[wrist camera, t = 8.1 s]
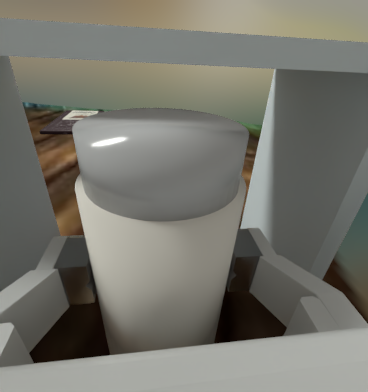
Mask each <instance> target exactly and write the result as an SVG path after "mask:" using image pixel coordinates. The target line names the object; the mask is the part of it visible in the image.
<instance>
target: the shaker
mask: <svg viewBox="0 0 368 392" xmlns="http://www.w3.org/2000/svg"><path fill="white" fill-rule="evenodd" d="M72 132H73V137H74V142H75V147H76V153H77V158H78V163H79V168H80V174H79V176H78V178H77V180H76V183H75V192H76V197H77V202H78V206H79V211H80V216H81V220H82V225H83V230H84V234H85V239H86V244H87V248H88V253H89V258H90V263H91V267H92V272H93V277H94V281H95V286H96V291H97V295H98V300H99V305H100V310H101V314H102V319H103V324H104V328H105V333H106V338H107V342H108V347H109V352H110V355H117V354H126V353H135V352H144V351H153V350H162V349H171V348H181V347H190V346H199V345H208V344H214V341H215V336H216V331H217V326H218V322H219V317H220V312H221V307H222V303H223V298H224V293H225V288H226V283H227V279H228V274H229V269H230V264H231V260H232V255H233V250H234V245H235V241H236V236H237V231H238V226H239V222H240V217H241V212H242V207H243V203H244V198H245V193H246V184H245V181H244V179H243V177H242V176H241V174H242V168H243V163H244V158H245V153H246V147H247V142H248V137H249V132H248V130H247V129H246V128H245V127H244V126H243V125H241V124H240V123H238V122H236V121H234V120H231V119H228V118H225V117H222V116H218V115H214V114H210V113H204V112H198V111H192V110H183V109H169V108H133V109H121V110H113V111H107V112H102V113H97V114H93V115H90V116H87V117H85V118H83V119H81V120H79V121H77V122H76V123H75V124H74V126H73V127H72Z"/></svg>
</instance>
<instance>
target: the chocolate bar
mask: <svg viewBox="0 0 368 392" xmlns="http://www.w3.org/2000/svg"><path fill="white" fill-rule="evenodd" d="M102 112H104V111H66V112H64V113H63V114H62V115H60V116H59V117H58V118H56V119H55V120H54V121H52V122H51V123H50V124H48V125H47V126H46V127H44V128H43V129H42V130H40V134H73V132H72V127H73V126H74V124H75V123H76V122H77V121H79V120H81V119H83V118H85V117H87V116H90V115H93V114H97V113H102Z"/></svg>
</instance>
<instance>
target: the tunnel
mask: <svg viewBox="0 0 368 392" xmlns="http://www.w3.org/2000/svg"><path fill="white" fill-rule="evenodd" d="M9 56H20V57H41V58H63V59H83V60H104V61H125V62H146V63H167V64H187V65H209V66H230V67H250V68H271V69H275V70H274V75H273V80H272V84H271V89H270V93H269V98H268V103H267V107H266V112H265V117H264V121H263V126H262V130H261V135H260V140H259V144H258V149H257V153H256V158H255V163H254V167H253V172H252V177H251V181H250V186H249V191H248V195H247V200H246V204H245V209H244V214H243V218H242V223H241V228H240V229H246V228H257V227H258V228H259V229H260V230H261V231H262V233H263V234H264V236H265V237H266V239H267V240H268V242H269V244H270V245H271V247H272V248H273V250H274V251H275V253H276V254H277V255H281V256H283V257H285V258H286V259H288V260H289V261H291V262H293V263H294V264H296V265H298V266H299V267H301V268H303V269H304V270H306V271H308V272H309V273H311V274H313V275H314V276H316V277H317V278H319V279H321V280H322V279H323V277H324V276H325V274H326V272H327V270H328V268H329V266H330V264H331V262H332V260H333V258H334V256H335V254H336V252H337V250H338V249H339V247H340V245H341V243H342V241H343V239H344V237H345V235H346V233H347V231H348V229H349V227H350V225H351V223H352V221H353V219H354V218H355V216H356V214H357V211H358V210H359V208H360V206H361V204H362V202H363V200H364V198H365V196H366V194H367V192H368V43H367V42H351V41H337V40H322V39H307V38H291V37H277V36H262V35H247V34H231V33H218V32H203V31H188V30H173V29H157V28H142V27H127V26H113V25H98V24H83V23H68V22H53V21H38V20H23V19H8V18H0V292H1V291H2V290H4V289H5V288H6V287H8V286H9V285H11V284H12V283H14V282H15V281H16V280H18V279H19V278H21V277H22V276H23V275H25V274H26V273H28V272H29V271H31V270H36V268H37V266H38V264H39V262H40V260H41V258H42V256H43V254H44V252H45V250H46V249H47V247H48V245H49V243H50V241H51V239H52V238H53V237H55V236H60V232H59V229H58V225H57V222H56V218H55V215H54V211H53V208H52V205H51V201H50V198H49V194H48V191H47V187H46V184H45V180H44V177H43V173H42V170H41V167H40V163H39V160H38V156H37V153H36V149H35V146H34V142H33V139H32V135H31V132H30V129H29V125H28V122H27V118H26V115H25V111H24V108H23V104H22V101H21V97H20V94H19V91H18V87H17V84H16V80H15V77H14V74H13V70H12V66H11V63H10V59H9Z"/></svg>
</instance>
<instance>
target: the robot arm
mask: <svg viewBox="0 0 368 392" xmlns="http://www.w3.org/2000/svg"><path fill="white" fill-rule="evenodd" d="M226 286H227V289H228V292H232V291H250V293H251V294H253V295H254V296H255V297H256V298H257V299H258V300H259V301H260V302H261V303H262V304H263V305H264V306H265V307H266V308H267V309H268V310H269V311H270V312H271V313H272V314H273V315H274V316H275V317H276V318H277V319H278V320H279V321H281V322H282V323H283V324H284V325H285V326H286V327H287V329H286V331H285V333H284V336H280V337H271V338H262V339H253V340H244V341H235V342H226V343H217V344H208V345H199V346H190V347H181V348H171V349H162V350H153V351H144V352H135V353H126V354H117V355H108V356H99V357H89V358H80V359H71V360H62V361H53V362H44V363H35V364H34V362H33V360H32V358H31V356H30V354H29V353H30V351H31V350H32V349H33V348H34V347H35V346H36V345H37V343H38V342H39V341H40V340H41V339H42V338H43V337H44V335H45V334H46V333H47V332H48V331H49V330H50V328H51V327H52V326H53V325H54V324H55V323H56V322H57V320H58V319H59V318H60V317H61V316H62V315H63V313H64V312H65V311H66V310H67V309H68V308H69V305H75V304H85V303H94V302H95V298H96V294H97V291H96V286H95V281H94V277H93V272H92V267H91V263H90V258H89V253H88V248H87V244H86V239H85V235H82V236H55V237H53V238H52V239H51V241H50V243H49V245H48V247H47V249H46V250H45V252H44V254H43V256H42V258H41V260H40V262H39V264H38V266H37V268H36V270H31V271H29V272H28V273H26V274H25V275H23V276H22V277H21V278H19V279H18V280H16V281H15V282H14V283H12V284H11V285H9V286H8V287H6V288H5V289H4V290H2V291H1V292H0V392H368V324H367V322H366V321H365V320H364V319H363V317H362V316H361V315H360V314H359V312H358V311H357V310H356V309H355V308H354V306H353V305H352V304H351V303H350V301H349V300H348V299H347V298H346V296H345V295H344V294H343V293H342V292H341V291H339V290H337V289H336V288H334V287H332V286H331V285H329V284H327V283H326V282H324V281H322V280H321V279H319V278H317V277H316V276H314V275H313V274H311V273H309V272H308V271H306V270H304V269H303V268H301V267H299V266H298V265H296V264H294V263H293V262H291V261H289V260H288V259H286V258H285V257H283V256H281V255H277V254H276V253H275V251H274V250H273V248H272V247H271V245H270V244H269V242H268V240H267V239H266V237H265V236H264V234H263V233H262V231H261V230H260V229H259V228H258V227H257V228H246V229H238V231H237V236H236V241H235V245H234V250H233V255H232V260H231V264H230V269H229V274H228V279H227V283H226Z"/></svg>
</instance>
